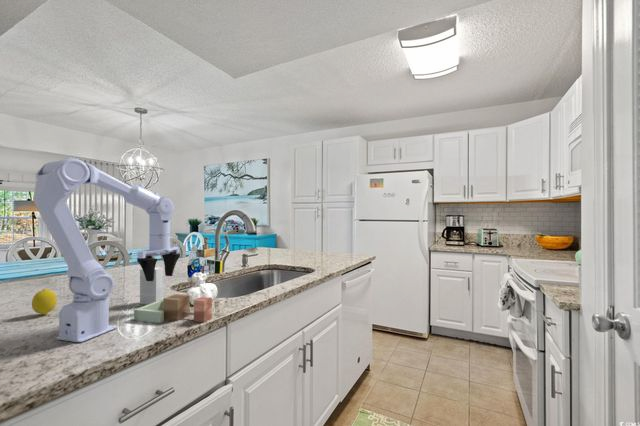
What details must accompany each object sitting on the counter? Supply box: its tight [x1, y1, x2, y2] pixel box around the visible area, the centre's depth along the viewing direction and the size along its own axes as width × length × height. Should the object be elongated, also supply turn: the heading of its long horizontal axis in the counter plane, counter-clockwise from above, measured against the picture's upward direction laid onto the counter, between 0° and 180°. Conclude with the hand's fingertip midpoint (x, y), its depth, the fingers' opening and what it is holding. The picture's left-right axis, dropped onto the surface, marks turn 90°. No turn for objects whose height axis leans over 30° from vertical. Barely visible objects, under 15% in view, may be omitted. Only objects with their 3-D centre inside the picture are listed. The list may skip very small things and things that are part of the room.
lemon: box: [31, 288, 58, 316], centre depth 88 cm, size 6×6×8 cm
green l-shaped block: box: [133, 300, 165, 324], centre depth 87 cm, size 10×9×3 cm
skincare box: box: [139, 267, 165, 305], centre depth 100 cm, size 6×4×12 cm
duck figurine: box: [185, 271, 218, 306], centre depth 101 cm, size 12×8×11 cm
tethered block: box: [163, 294, 213, 323], centre depth 84 cm, size 5×13×6 cm, turn 75°
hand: (159, 278), depth 91 cm, fingers open, 7 cm apart
